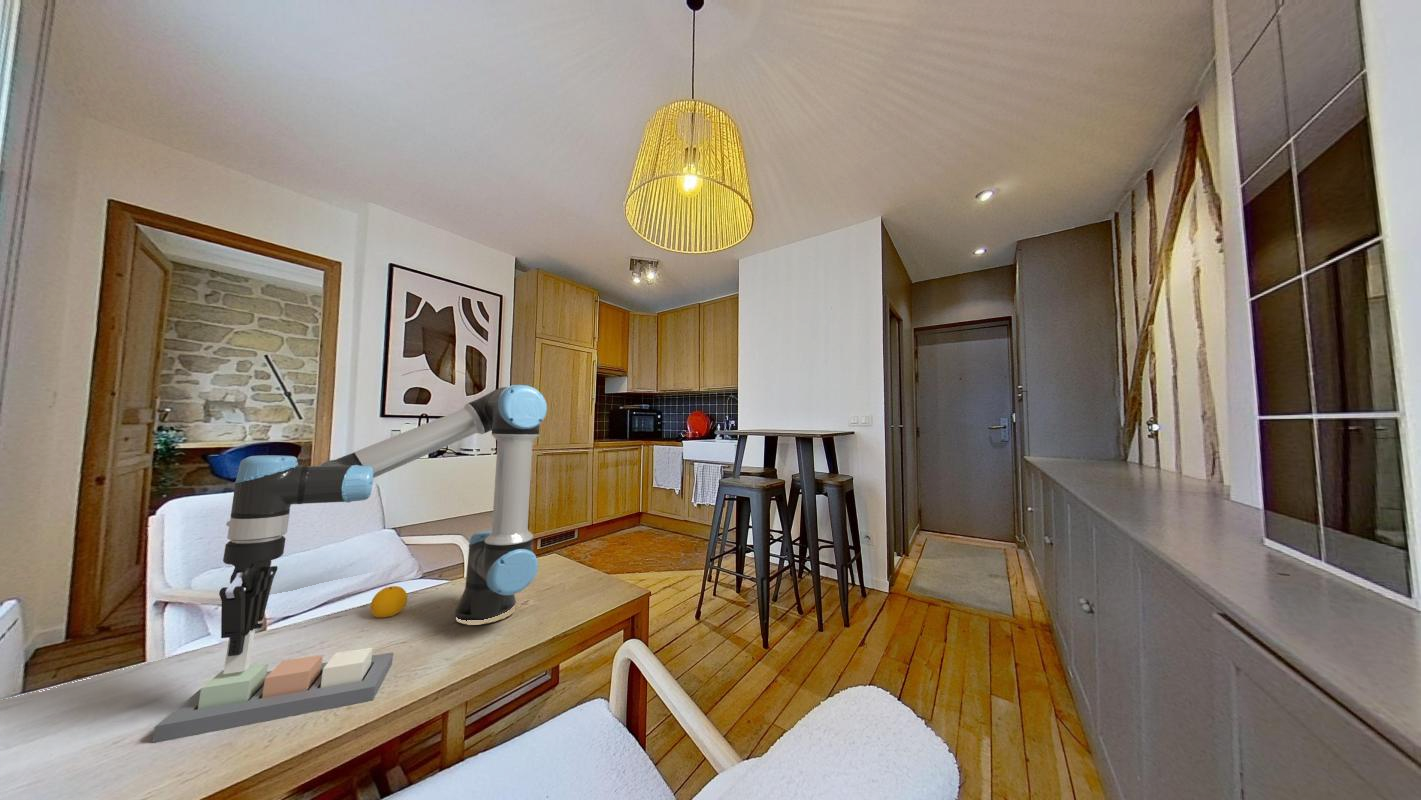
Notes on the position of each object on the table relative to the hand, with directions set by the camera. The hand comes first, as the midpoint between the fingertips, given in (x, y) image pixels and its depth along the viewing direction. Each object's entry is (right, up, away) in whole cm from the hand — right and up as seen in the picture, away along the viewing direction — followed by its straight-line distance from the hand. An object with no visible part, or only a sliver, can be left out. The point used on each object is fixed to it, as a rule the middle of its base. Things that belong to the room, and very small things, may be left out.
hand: (236, 670), depth 73 cm
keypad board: (+7, -7, +3) cm, 10 cm away
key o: (0, -4, 0) cm, 4 cm away
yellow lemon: (-3, -10, +37) cm, 39 cm away
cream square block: (+14, -6, +7) cm, 17 cm away
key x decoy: (+7, -5, +3) cm, 9 cm away
